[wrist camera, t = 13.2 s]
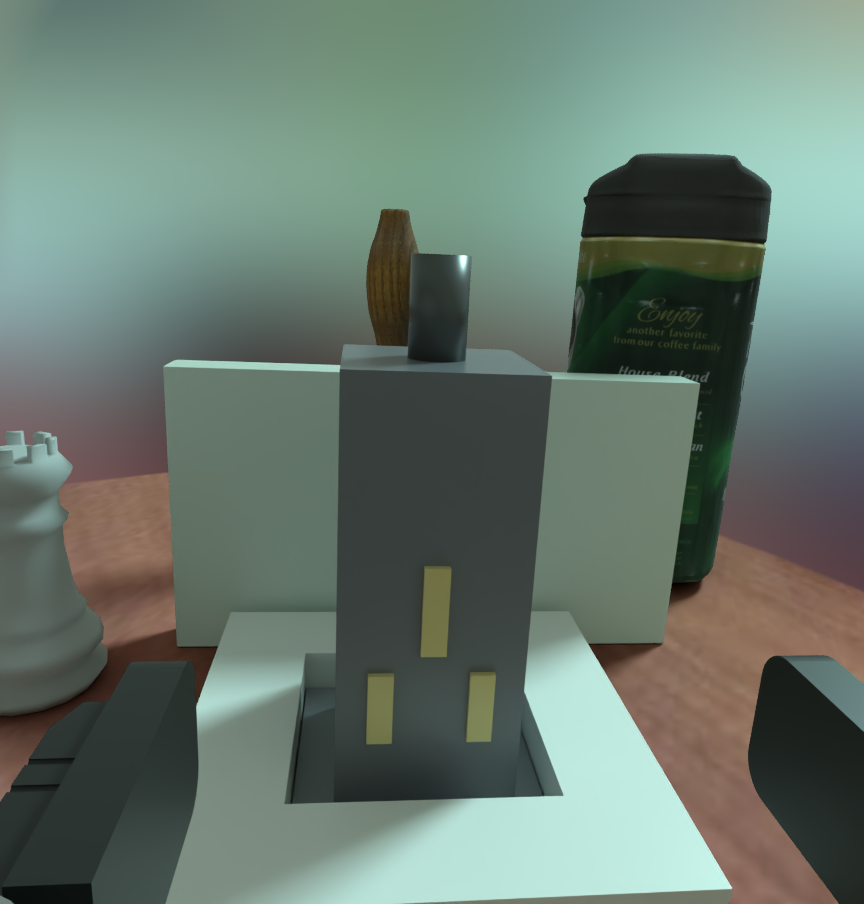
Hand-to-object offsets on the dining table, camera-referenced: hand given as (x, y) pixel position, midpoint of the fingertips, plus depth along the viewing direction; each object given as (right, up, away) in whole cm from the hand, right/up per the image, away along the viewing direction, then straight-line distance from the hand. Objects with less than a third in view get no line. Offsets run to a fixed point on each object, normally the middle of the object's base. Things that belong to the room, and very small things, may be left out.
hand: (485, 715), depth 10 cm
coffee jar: (+9, -2, +26) cm, 28 cm away
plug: (-1, -5, +10) cm, 11 cm away
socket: (0, -5, +11) cm, 12 cm away
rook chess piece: (-14, -4, +13) cm, 20 cm away
